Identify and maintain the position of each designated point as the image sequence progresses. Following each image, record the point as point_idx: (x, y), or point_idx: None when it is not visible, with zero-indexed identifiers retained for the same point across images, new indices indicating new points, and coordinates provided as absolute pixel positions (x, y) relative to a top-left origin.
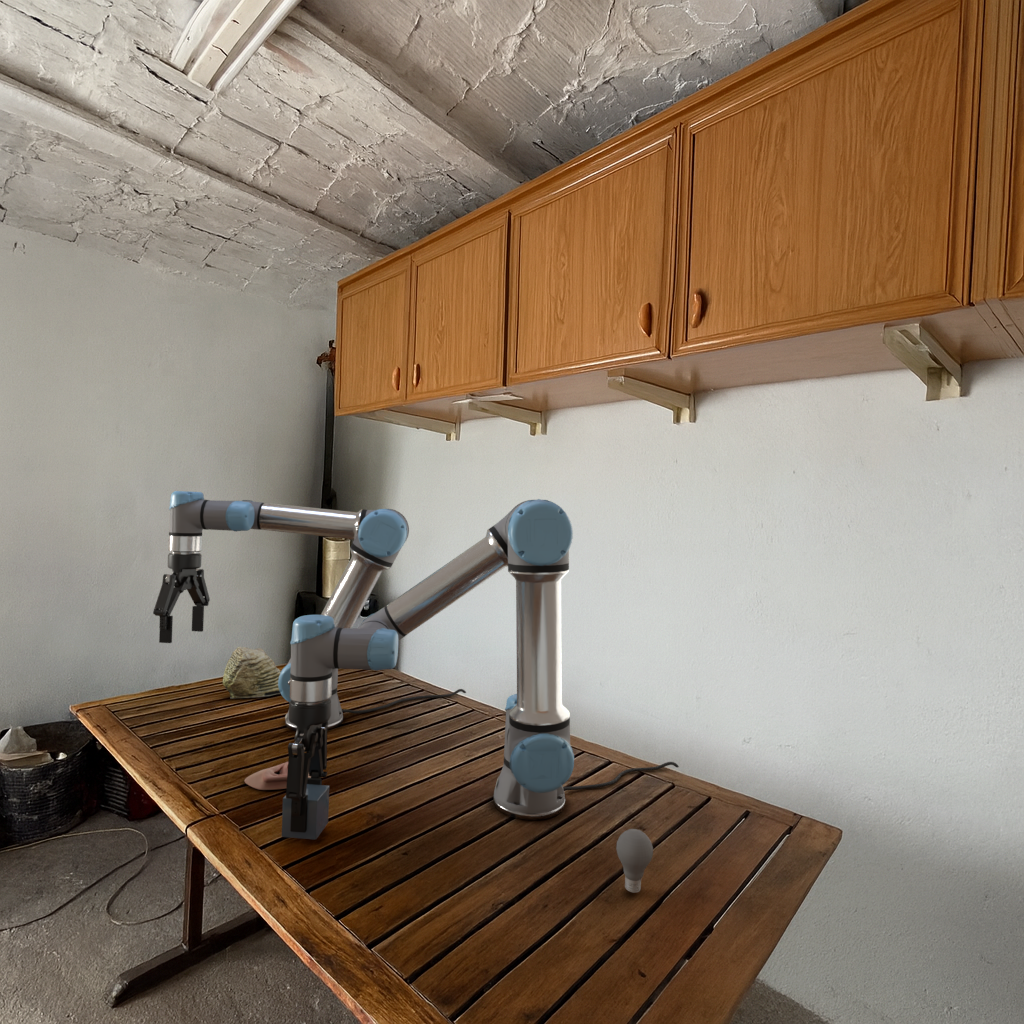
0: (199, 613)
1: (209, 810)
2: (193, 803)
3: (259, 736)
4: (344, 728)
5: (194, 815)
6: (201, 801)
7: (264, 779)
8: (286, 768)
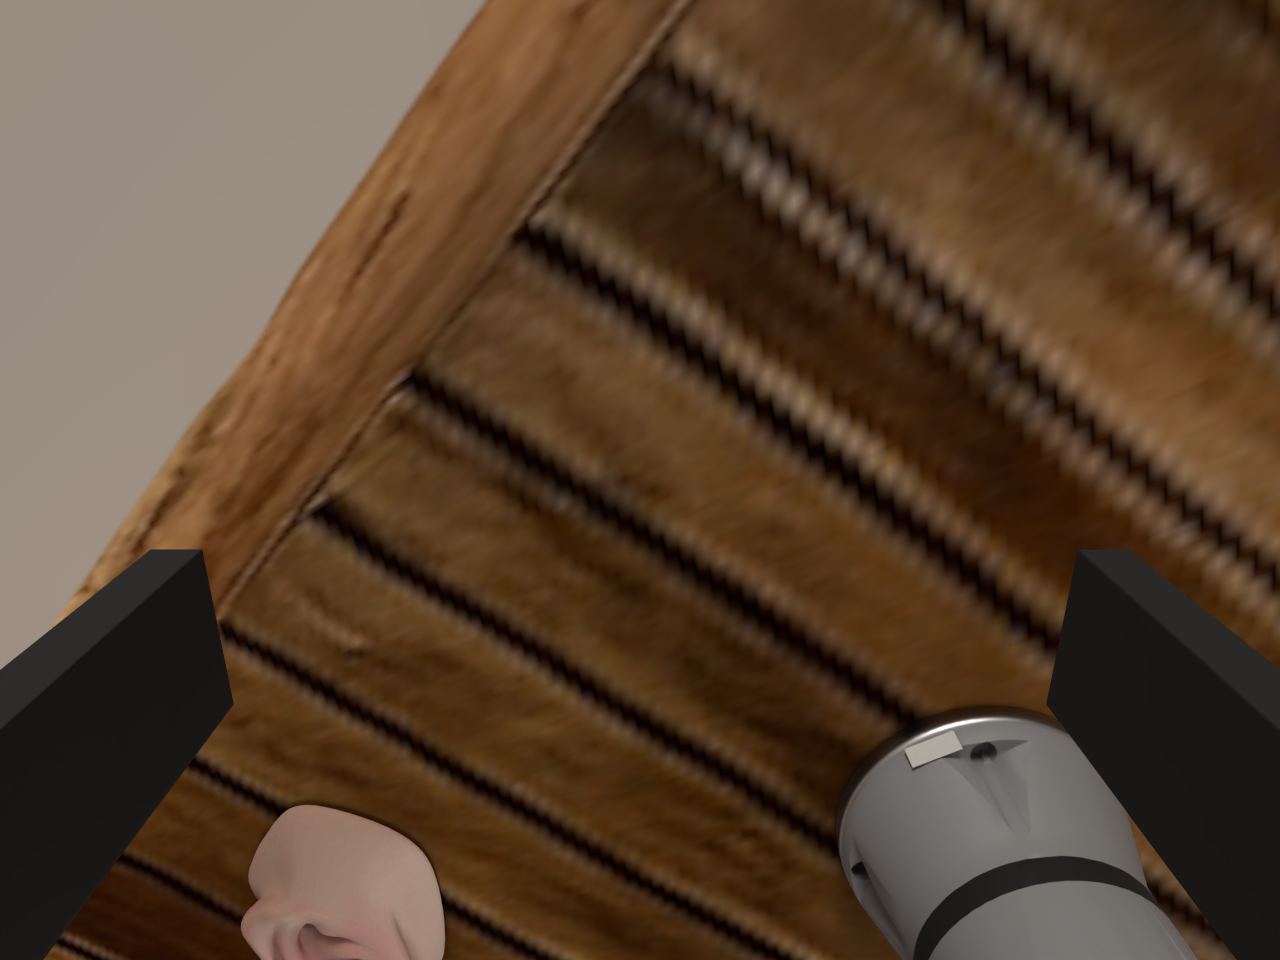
0: (1270, 922)
1: None
2: None
3: (763, 664)
4: None
5: None
6: None
7: (245, 914)
8: (336, 957)
